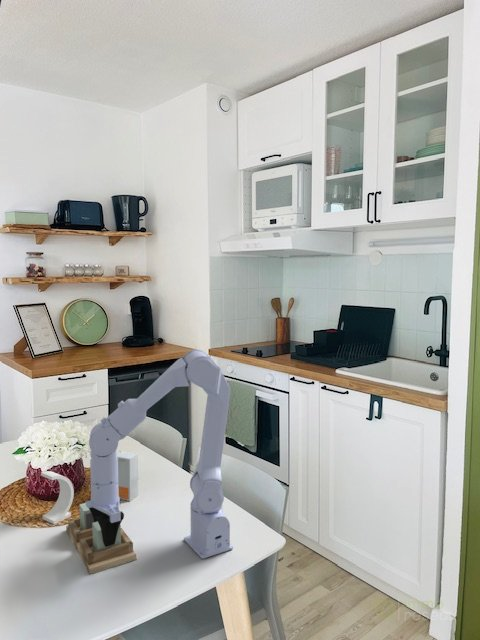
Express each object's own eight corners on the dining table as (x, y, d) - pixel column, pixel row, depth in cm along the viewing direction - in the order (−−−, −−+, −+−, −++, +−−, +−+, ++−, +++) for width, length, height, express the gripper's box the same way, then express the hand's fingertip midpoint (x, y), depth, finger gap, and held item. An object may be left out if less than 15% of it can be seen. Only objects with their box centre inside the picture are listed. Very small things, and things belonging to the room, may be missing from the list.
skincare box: (111, 498, 138) (110, 455, 137) (120, 491, 142) (119, 450, 141) (130, 502, 136) (129, 458, 135) (139, 495, 140) (138, 453, 139)
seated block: (106, 531, 119) (106, 506, 118) (85, 537, 116) (84, 512, 116) (101, 523, 123) (100, 499, 122) (80, 528, 120) (79, 504, 119)
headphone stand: (42, 518, 127) (40, 472, 126) (63, 509, 132) (62, 464, 131) (53, 524, 124) (52, 477, 123) (74, 514, 129) (73, 469, 128)
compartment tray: (136, 559, 110) (136, 545, 109) (89, 574, 105) (89, 559, 104) (107, 519, 127) (107, 507, 126) (66, 530, 121) (65, 517, 121)
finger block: (121, 550, 111) (120, 524, 110) (98, 557, 108) (97, 531, 107) (114, 541, 114) (114, 516, 114) (92, 548, 112) (91, 522, 111)
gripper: (76, 471, 114) (78, 529, 115) (95, 497, 101) (97, 561, 103) (108, 465, 117) (109, 521, 119) (129, 489, 105) (131, 551, 106)
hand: (106, 539), depth 111 cm, fingers closed on finger block, 4 cm apart
